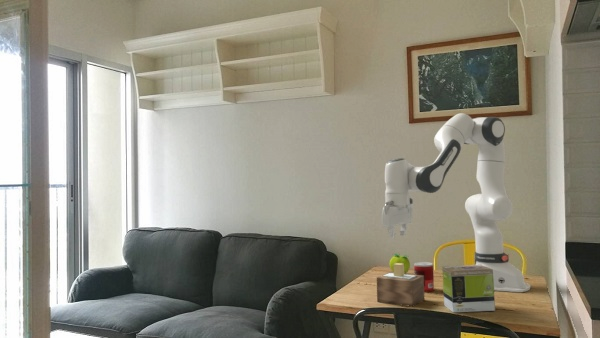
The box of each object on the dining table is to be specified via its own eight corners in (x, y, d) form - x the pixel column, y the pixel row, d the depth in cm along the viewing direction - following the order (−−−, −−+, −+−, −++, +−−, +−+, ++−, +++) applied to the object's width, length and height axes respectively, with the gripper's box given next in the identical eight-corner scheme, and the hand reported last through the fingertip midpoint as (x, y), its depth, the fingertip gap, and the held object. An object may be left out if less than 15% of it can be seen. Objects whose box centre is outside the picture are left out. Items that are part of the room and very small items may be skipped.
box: (424, 299, 188) (423, 275, 188) (411, 306, 178) (411, 281, 178) (391, 295, 196) (390, 272, 196) (377, 301, 186) (376, 277, 186)
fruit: (398, 272, 242) (397, 251, 242) (413, 274, 235) (412, 253, 235) (386, 274, 236) (385, 254, 236) (401, 277, 229) (400, 256, 229)
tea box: (483, 304, 179) (482, 263, 179) (495, 311, 169) (494, 269, 169) (443, 305, 179) (441, 265, 179) (452, 313, 168) (451, 270, 169)
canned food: (434, 288, 206) (433, 262, 206) (433, 292, 198) (433, 265, 199) (415, 287, 208) (414, 261, 208) (414, 291, 200) (413, 265, 201)
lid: (418, 281, 187) (418, 263, 187) (409, 286, 180) (408, 267, 180) (390, 278, 194) (389, 260, 195) (379, 282, 187) (379, 264, 187)
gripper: (392, 202, 178) (393, 240, 177) (415, 199, 194) (415, 234, 194) (377, 201, 181) (377, 239, 181) (400, 199, 198) (401, 233, 198)
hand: (397, 236), depth 188 cm, fingers open, 8 cm apart
